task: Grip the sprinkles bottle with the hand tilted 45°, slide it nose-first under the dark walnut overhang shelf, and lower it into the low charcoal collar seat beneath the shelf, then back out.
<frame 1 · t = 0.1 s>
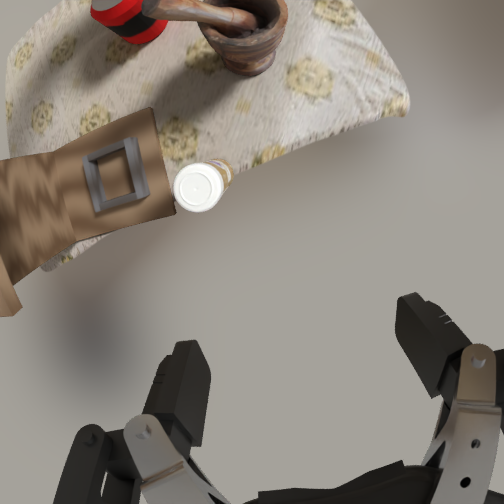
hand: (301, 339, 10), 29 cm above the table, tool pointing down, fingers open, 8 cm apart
soda can: (146, 25, 27), on the table
mortar and pestle: (237, 59, 30), on the table
overhang stand: (121, 173, 36), on the table
sprinkles bottle: (217, 174, 36), on the table
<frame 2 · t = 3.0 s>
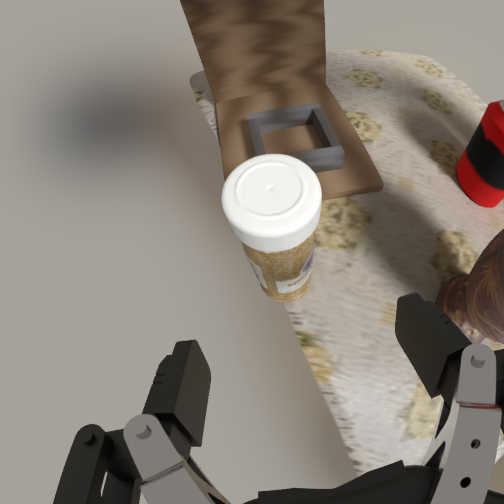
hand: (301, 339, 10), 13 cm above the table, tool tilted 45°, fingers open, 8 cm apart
soda can: (477, 184, 24), on the table
mortar and pestle: (454, 299, 20), on the table
overhang stand: (293, 152, 29), on the table
sprinkles bottle: (285, 278, 24), on the table
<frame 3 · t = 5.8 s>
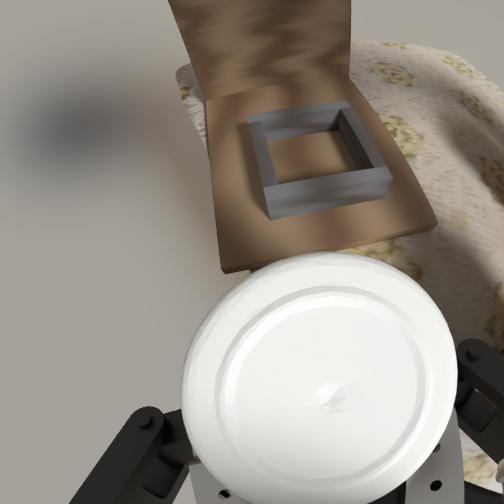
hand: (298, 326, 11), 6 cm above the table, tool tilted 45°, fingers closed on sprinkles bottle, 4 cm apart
overhang stand: (313, 171, 21), on the table
sprinkles bottle: (303, 366, 16), on the table, touching gripper
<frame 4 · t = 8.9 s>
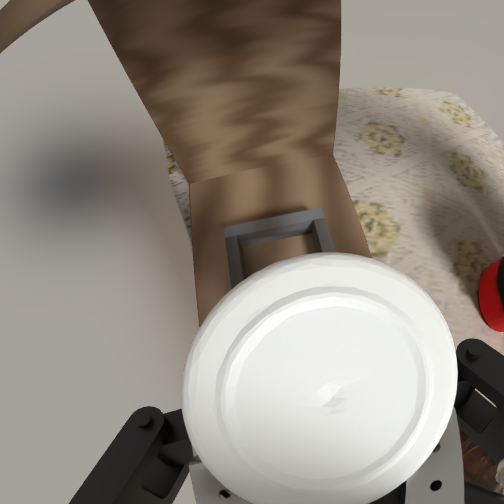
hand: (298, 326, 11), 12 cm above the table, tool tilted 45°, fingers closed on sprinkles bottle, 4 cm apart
soda can: (497, 298, 19), on the table
mortar and pestle: (438, 442, 15), on the table
overhang stand: (284, 277, 24), on the table
sprinkles bottle: (303, 366, 16), point 6 cm above the table, touching gripper
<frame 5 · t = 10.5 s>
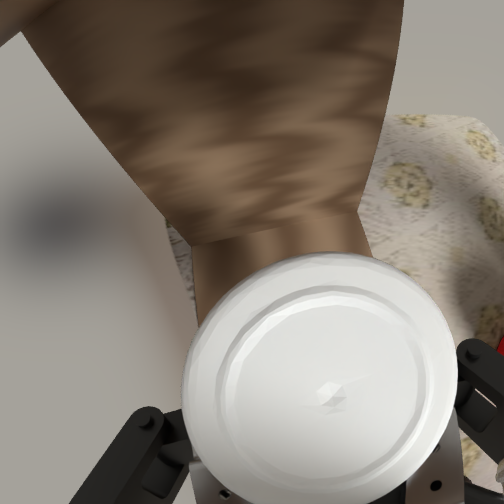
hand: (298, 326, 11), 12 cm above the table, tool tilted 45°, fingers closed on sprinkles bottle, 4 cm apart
overhang stand: (301, 362, 21), on the table
sprinkles bottle: (303, 366, 16), point 6 cm above the table, touching gripper
when the fingers open (8 cm above the table, at t = 12.0 s): sprinkles bottle drops 1 cm, resting on overhang stand.
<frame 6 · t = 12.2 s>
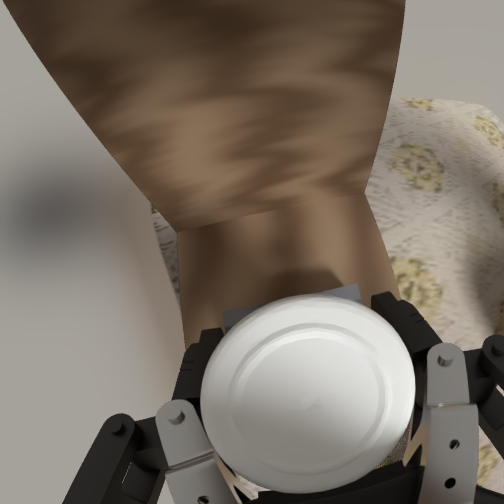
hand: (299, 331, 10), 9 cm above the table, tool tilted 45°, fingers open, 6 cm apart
overhang stand: (302, 365, 18), on the table
sprinkles bottle: (301, 368, 17), point 1 cm above the table, touching overhang stand
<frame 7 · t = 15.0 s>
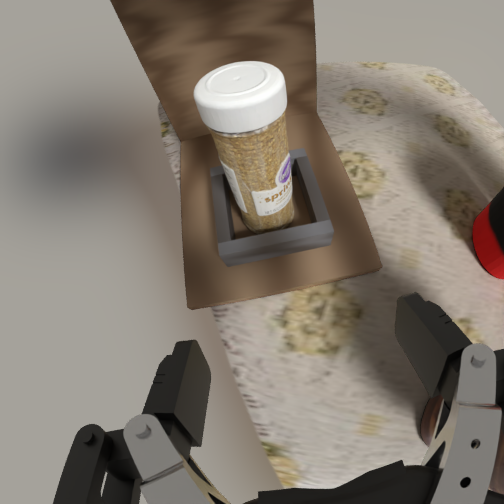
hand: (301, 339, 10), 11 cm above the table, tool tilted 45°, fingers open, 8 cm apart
soda can: (494, 246, 19), on the table
mortar and pestle: (447, 399, 15), on the table
overhang stand: (270, 217, 24), on the table
sprinkles bottle: (268, 214, 23), point 1 cm above the table, touching overhang stand
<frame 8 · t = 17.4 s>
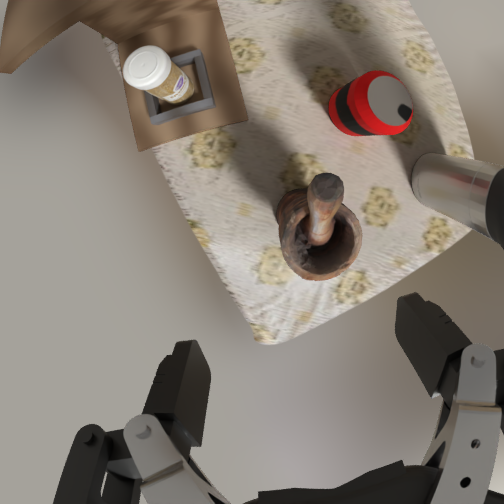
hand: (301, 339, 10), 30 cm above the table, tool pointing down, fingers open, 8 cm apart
soda can: (352, 111, 33), on the table
mortar and pestle: (295, 202, 38), on the table
overhang stand: (181, 90, 32), on the table
sprinkles bottle: (179, 90, 31), point 1 cm above the table, touching overhang stand
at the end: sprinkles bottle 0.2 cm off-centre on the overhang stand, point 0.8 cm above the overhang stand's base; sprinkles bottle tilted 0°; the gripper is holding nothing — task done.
